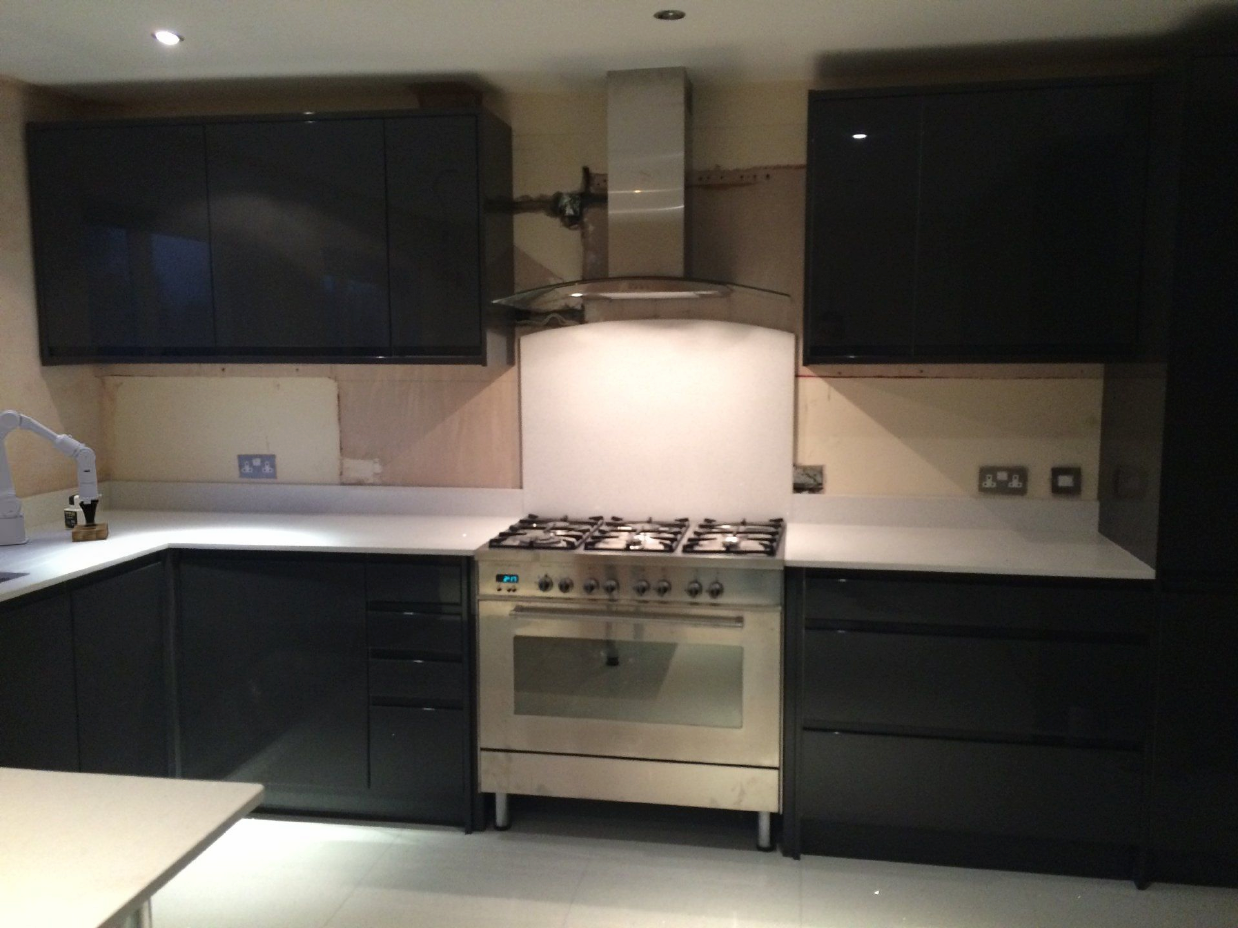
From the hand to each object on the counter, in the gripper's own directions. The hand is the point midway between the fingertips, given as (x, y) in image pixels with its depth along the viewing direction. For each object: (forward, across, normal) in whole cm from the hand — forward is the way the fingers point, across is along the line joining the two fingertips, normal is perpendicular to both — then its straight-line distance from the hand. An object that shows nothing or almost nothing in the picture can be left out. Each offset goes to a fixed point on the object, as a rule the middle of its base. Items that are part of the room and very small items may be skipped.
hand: (90, 521), depth 345 cm
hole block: (+5, -4, 0) cm, 6 cm away
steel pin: (+3, 0, 0) cm, 4 cm away
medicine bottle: (+5, +19, +5) cm, 21 cm away
